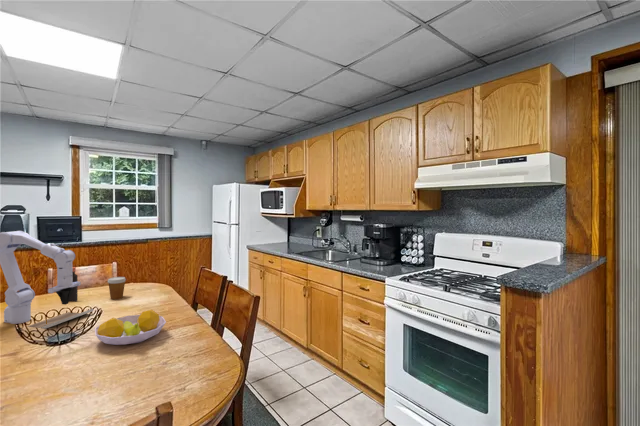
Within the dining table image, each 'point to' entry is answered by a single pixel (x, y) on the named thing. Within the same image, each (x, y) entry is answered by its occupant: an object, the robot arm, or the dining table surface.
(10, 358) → the dining table surface
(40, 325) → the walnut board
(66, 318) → the grey plank
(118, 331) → the fruit bowl
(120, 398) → the dining table surface
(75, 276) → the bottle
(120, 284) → the disposable coffee cup
